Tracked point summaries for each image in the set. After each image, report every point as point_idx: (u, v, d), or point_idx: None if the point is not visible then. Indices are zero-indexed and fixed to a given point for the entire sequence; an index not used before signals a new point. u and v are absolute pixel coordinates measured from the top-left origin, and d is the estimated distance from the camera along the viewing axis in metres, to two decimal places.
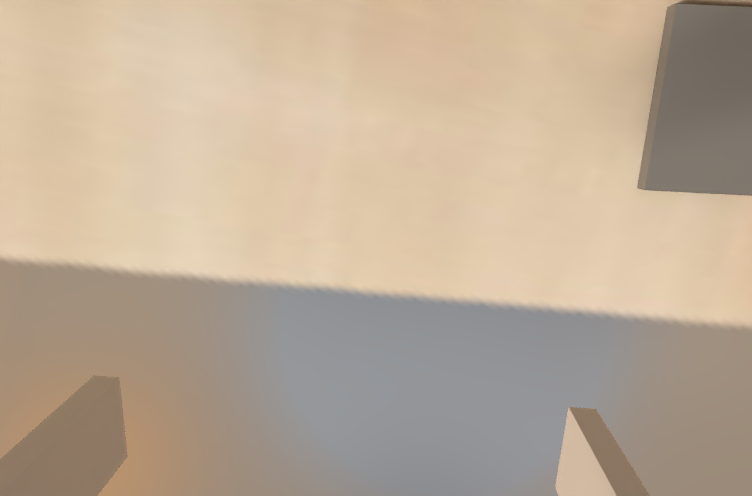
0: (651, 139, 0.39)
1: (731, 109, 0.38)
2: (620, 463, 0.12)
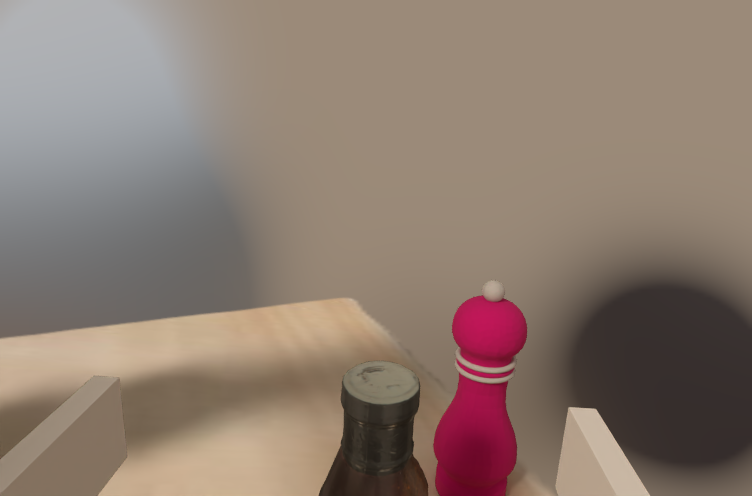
0: None
1: None
2: (620, 463, 0.12)
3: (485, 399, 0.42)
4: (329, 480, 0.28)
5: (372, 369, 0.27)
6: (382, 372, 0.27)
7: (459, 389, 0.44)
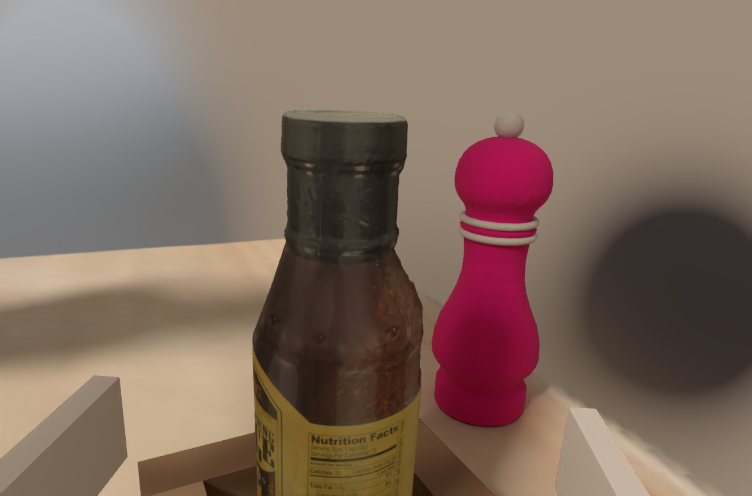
0: None
1: None
2: (620, 463, 0.12)
3: (499, 270, 0.32)
4: (268, 294, 0.18)
5: (333, 111, 0.17)
6: (348, 112, 0.17)
7: (464, 263, 0.34)
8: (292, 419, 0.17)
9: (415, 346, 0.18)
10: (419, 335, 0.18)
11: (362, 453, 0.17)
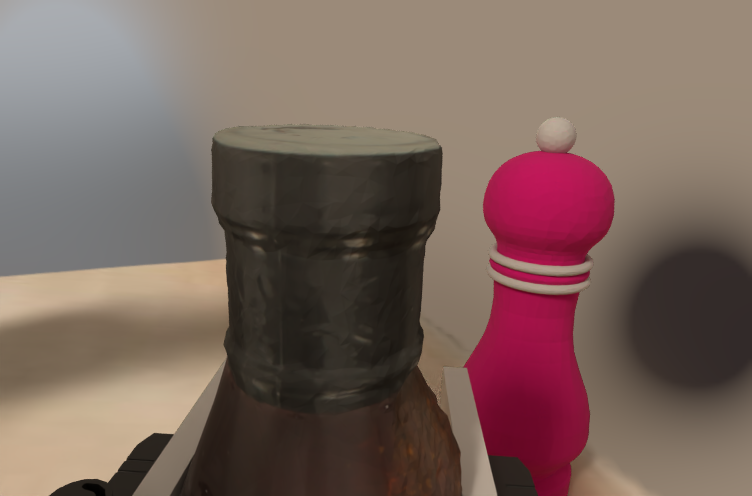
0: None
1: None
2: (468, 408, 0.14)
3: (542, 325, 0.25)
4: (200, 437, 0.11)
5: (310, 128, 0.10)
6: (336, 130, 0.10)
7: (495, 313, 0.26)
8: None
9: None
10: None
11: None
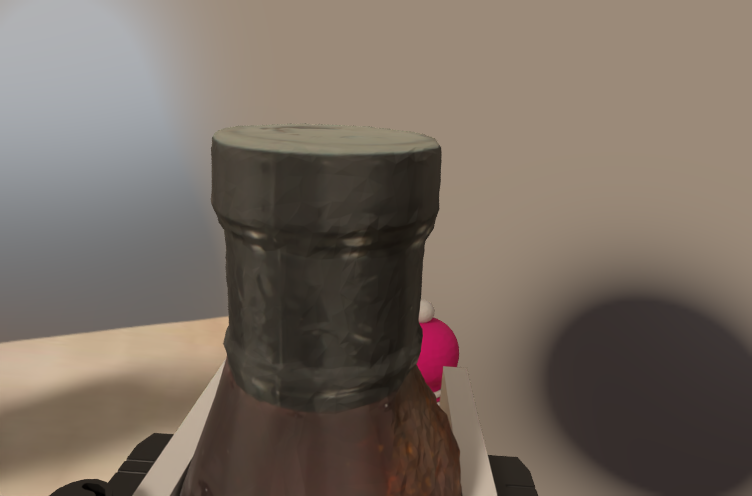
0: None
1: None
2: (468, 408, 0.14)
3: None
4: (200, 436, 0.11)
5: (309, 127, 0.10)
6: (336, 129, 0.10)
7: None
8: None
9: None
10: None
11: None
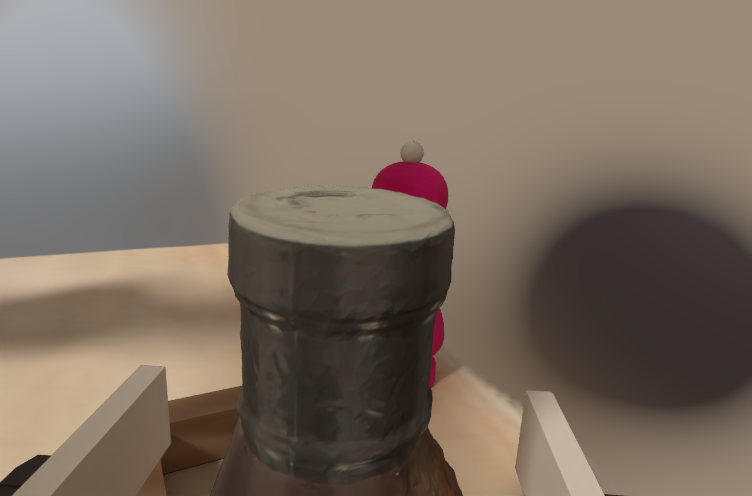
0: None
1: None
2: (567, 440, 0.13)
3: None
4: (212, 492, 0.11)
5: (323, 193, 0.10)
6: (349, 198, 0.10)
7: None
8: None
9: None
10: None
11: None
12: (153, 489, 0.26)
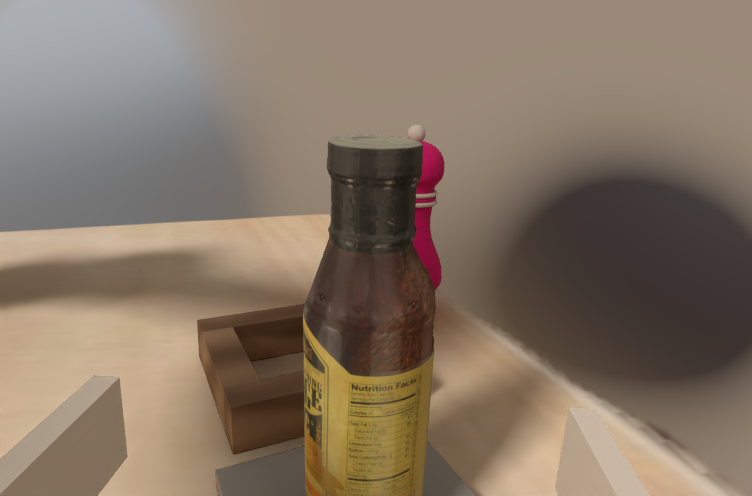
0: None
1: None
2: (620, 463, 0.12)
3: None
4: (315, 278, 0.23)
5: (365, 137, 0.23)
6: (377, 138, 0.22)
7: None
8: (336, 372, 0.22)
9: (429, 317, 0.23)
10: (432, 309, 0.23)
11: (390, 398, 0.22)
12: (240, 358, 0.39)
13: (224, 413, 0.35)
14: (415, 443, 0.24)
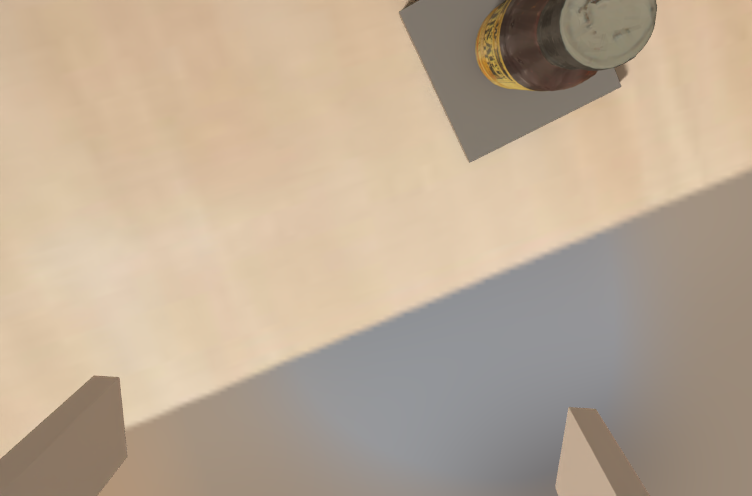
0: (449, 121, 0.42)
1: None
2: (620, 463, 0.12)
3: None
4: (516, 41, 0.28)
5: None
6: None
7: None
8: (521, 86, 0.31)
9: None
10: None
11: None
12: None
13: None
14: None
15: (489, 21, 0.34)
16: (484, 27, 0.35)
